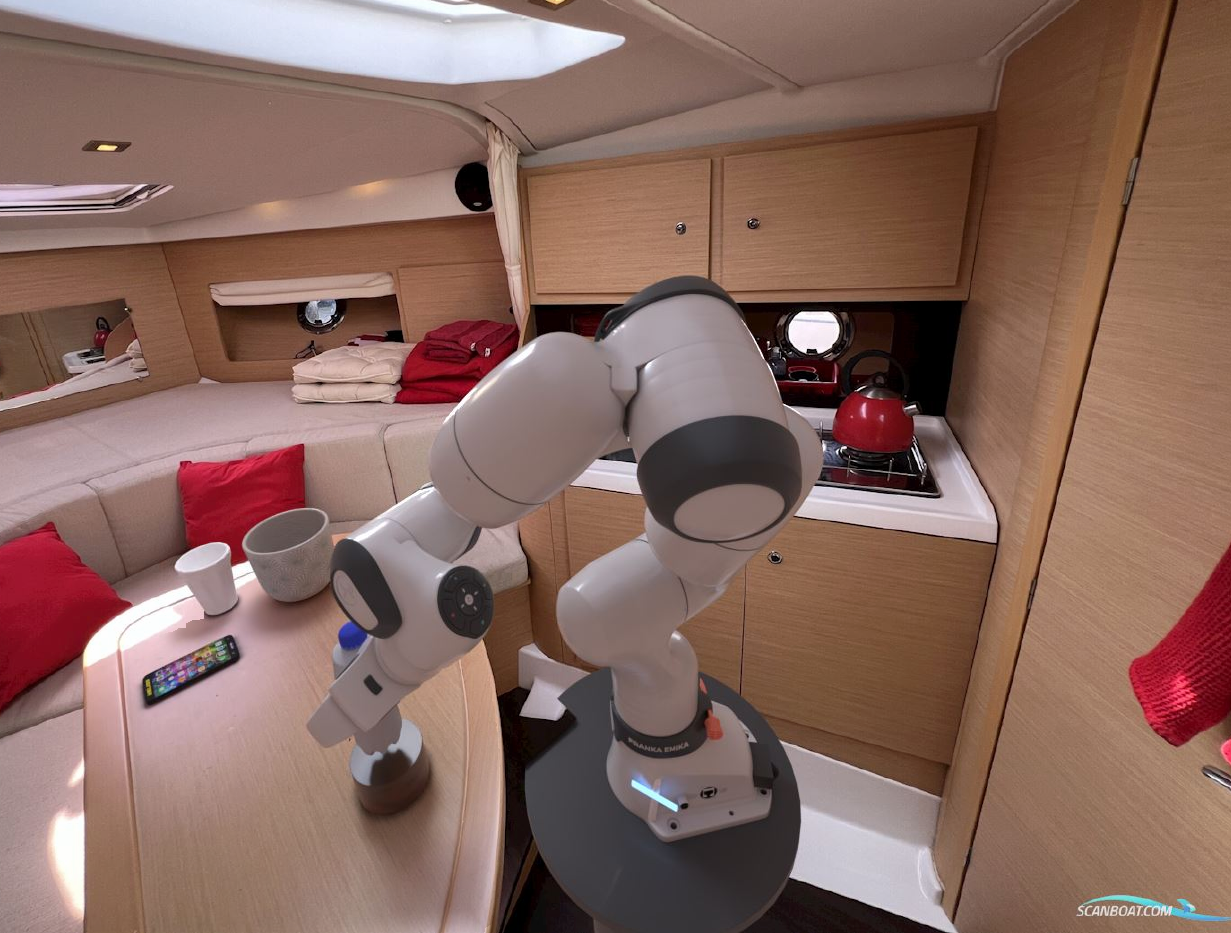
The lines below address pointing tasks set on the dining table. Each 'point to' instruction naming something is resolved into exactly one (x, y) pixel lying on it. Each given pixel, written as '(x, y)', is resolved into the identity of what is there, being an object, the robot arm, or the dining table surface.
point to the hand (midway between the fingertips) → (363, 681)
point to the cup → (209, 576)
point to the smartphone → (189, 669)
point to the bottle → (392, 722)
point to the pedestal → (391, 772)
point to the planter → (291, 553)
